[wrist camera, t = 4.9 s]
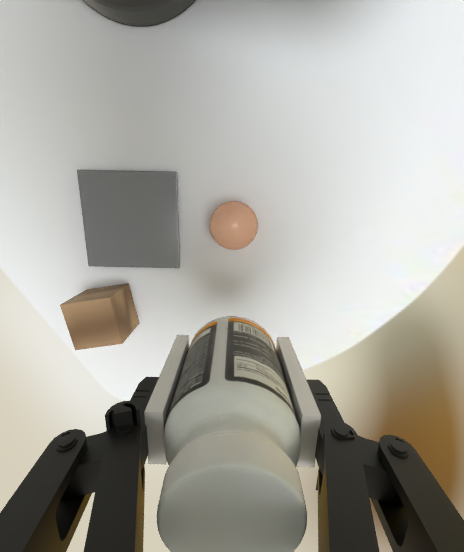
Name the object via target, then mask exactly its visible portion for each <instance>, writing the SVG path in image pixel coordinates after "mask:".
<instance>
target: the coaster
mask: <svg viewBox="0 0 464 552" xmlns="http://www.w3.org/2000/svg"><path fill="white" fill-rule="evenodd" d="M77 173H78V181H79V190H80V198H81V206H82V215H83V223H84V231H85V240H86V248H87V256H88V265H89V266H104V267H152V268H179V267H180V255H179V222H178V189H177V172H155V171H108V170H77Z"/></svg>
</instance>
